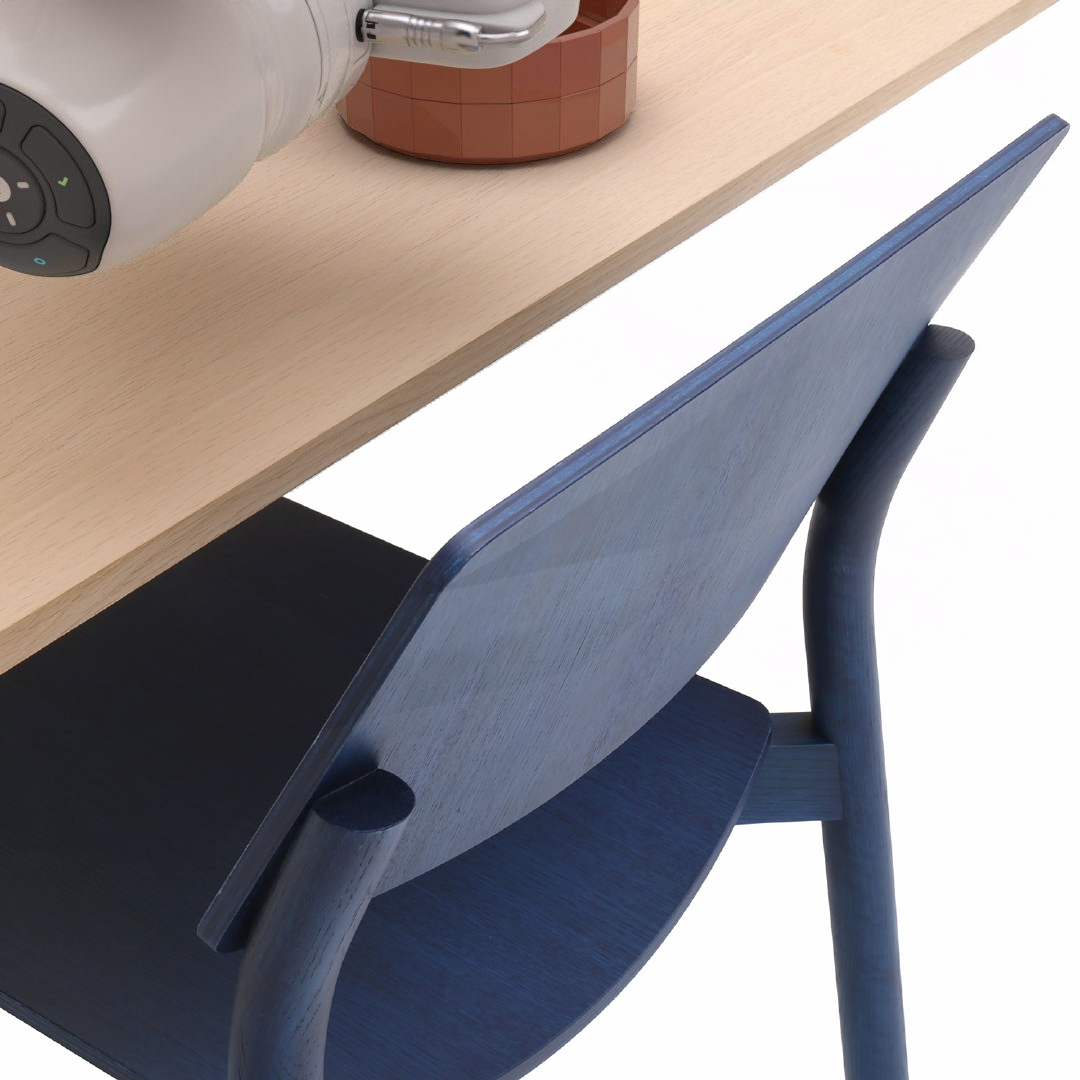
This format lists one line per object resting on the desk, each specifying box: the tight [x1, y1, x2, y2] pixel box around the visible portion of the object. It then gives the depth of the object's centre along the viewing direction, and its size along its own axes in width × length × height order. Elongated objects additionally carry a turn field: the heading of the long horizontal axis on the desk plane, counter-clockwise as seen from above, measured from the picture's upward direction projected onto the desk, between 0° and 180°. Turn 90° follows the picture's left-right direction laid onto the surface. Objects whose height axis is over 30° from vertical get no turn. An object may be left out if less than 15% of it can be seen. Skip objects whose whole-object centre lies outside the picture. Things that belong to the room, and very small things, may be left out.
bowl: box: [335, 0, 641, 165], centre depth 85 cm, size 15×15×6 cm
